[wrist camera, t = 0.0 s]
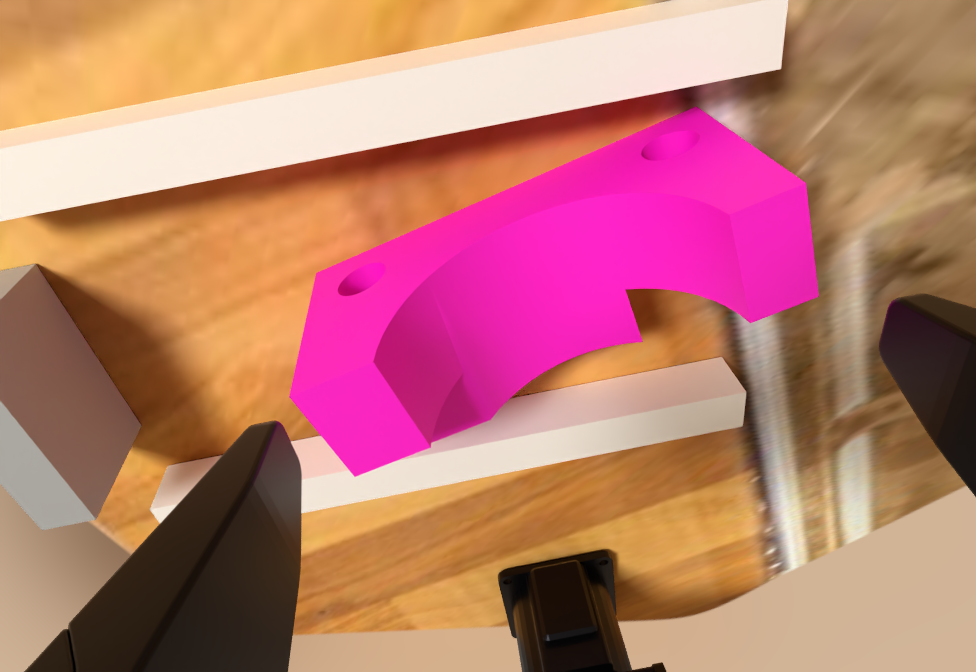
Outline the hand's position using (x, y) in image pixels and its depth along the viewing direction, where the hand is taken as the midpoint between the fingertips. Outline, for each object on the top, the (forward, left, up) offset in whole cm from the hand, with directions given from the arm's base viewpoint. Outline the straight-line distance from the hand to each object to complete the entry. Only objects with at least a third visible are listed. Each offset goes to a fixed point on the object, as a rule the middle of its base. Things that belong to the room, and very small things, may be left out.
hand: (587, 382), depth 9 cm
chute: (-6, +5, -15) cm, 17 cm away
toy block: (-6, -1, -15) cm, 16 cm away
